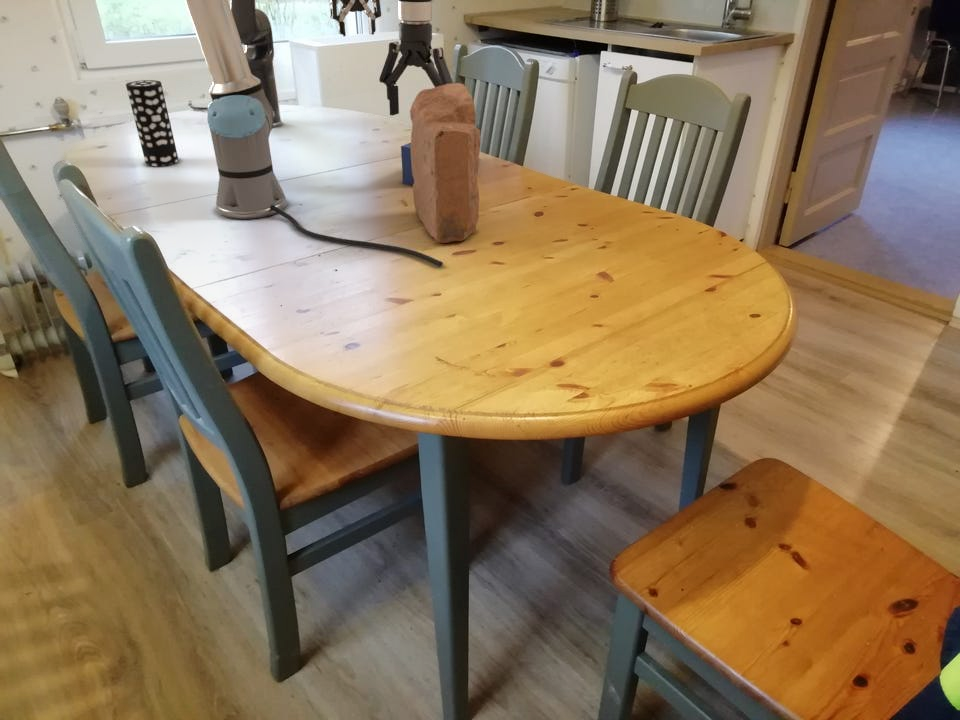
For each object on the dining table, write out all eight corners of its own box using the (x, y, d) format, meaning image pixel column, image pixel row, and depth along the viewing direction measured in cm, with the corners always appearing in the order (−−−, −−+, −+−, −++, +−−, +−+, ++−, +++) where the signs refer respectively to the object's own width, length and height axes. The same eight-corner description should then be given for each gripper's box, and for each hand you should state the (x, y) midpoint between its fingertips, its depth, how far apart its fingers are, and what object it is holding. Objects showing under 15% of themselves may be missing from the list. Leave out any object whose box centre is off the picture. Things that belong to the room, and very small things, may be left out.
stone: (490, 240, 143) (490, 97, 128) (437, 246, 140) (432, 100, 125) (459, 208, 160) (457, 80, 146) (412, 214, 157) (405, 83, 143)
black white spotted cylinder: (184, 157, 190) (167, 80, 179) (169, 166, 183) (151, 87, 172) (155, 156, 190) (136, 79, 179) (139, 165, 183) (119, 86, 172)
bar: (420, 187, 172) (418, 149, 167) (402, 183, 174) (400, 146, 169) (478, 159, 192) (478, 125, 187) (461, 156, 194) (461, 122, 189)
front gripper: (470, 25, 153) (468, 123, 165) (381, 15, 164) (385, 108, 175) (452, 28, 148) (451, 129, 159) (361, 18, 158) (366, 113, 170)
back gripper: (371, -32, 193) (376, 32, 202) (322, -31, 187) (329, 35, 196) (382, -30, 187) (385, 35, 196) (331, -29, 182) (337, 38, 190)
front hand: (416, 118), depth 167 cm, fingers open, 13 cm apart
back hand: (357, 35), depth 196 cm, fingers open, 8 cm apart
